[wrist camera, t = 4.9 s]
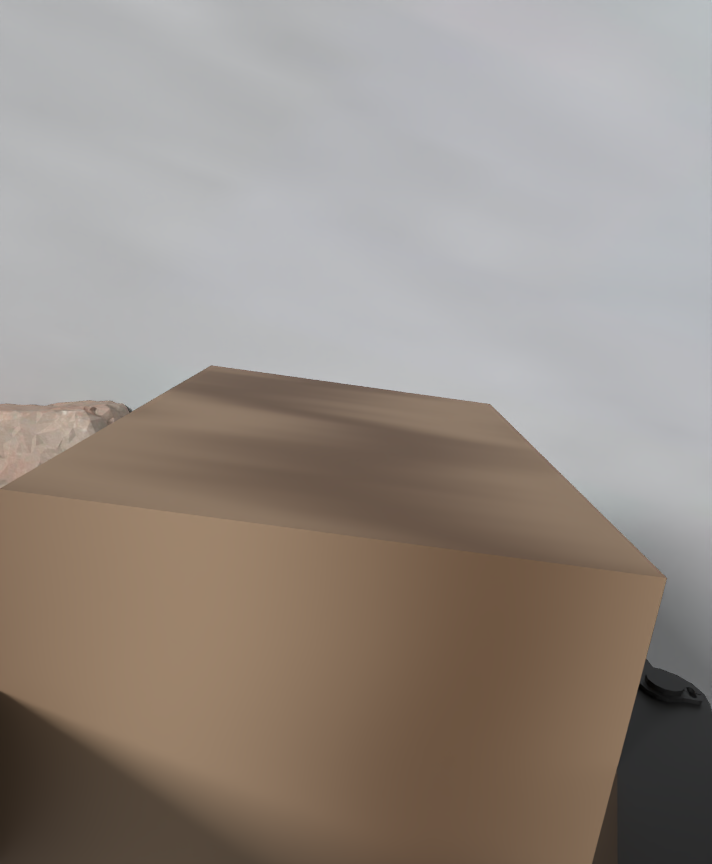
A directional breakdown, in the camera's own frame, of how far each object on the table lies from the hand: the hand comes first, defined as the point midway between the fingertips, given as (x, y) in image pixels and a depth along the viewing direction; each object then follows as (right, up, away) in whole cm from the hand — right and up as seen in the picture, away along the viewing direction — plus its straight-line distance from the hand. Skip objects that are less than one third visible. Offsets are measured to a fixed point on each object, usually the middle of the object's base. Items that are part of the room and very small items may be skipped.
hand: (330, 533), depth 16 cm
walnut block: (0, 0, +1) cm, 1 cm away
